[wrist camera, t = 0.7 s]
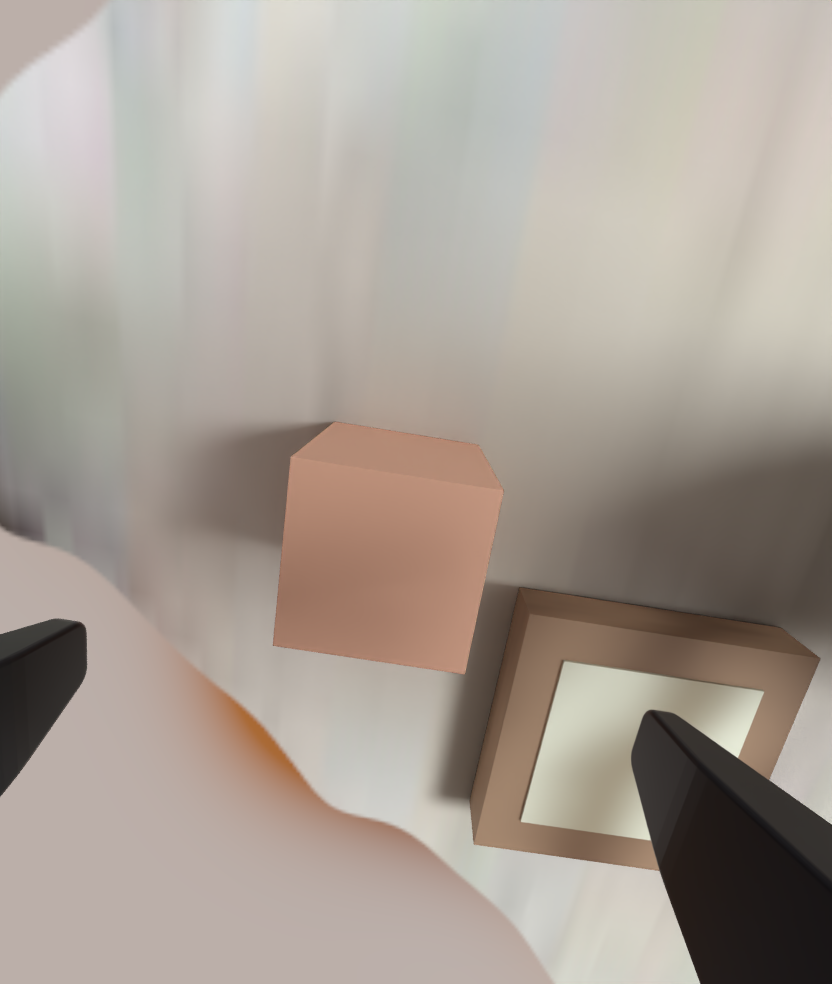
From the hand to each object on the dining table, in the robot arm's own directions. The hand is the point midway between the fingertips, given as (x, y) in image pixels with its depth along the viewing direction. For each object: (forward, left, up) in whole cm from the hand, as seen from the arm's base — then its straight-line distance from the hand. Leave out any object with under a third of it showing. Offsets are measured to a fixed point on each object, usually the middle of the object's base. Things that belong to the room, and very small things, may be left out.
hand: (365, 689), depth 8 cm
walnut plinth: (-10, +8, -11) cm, 16 cm away
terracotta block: (0, 0, -11) cm, 11 cm away
